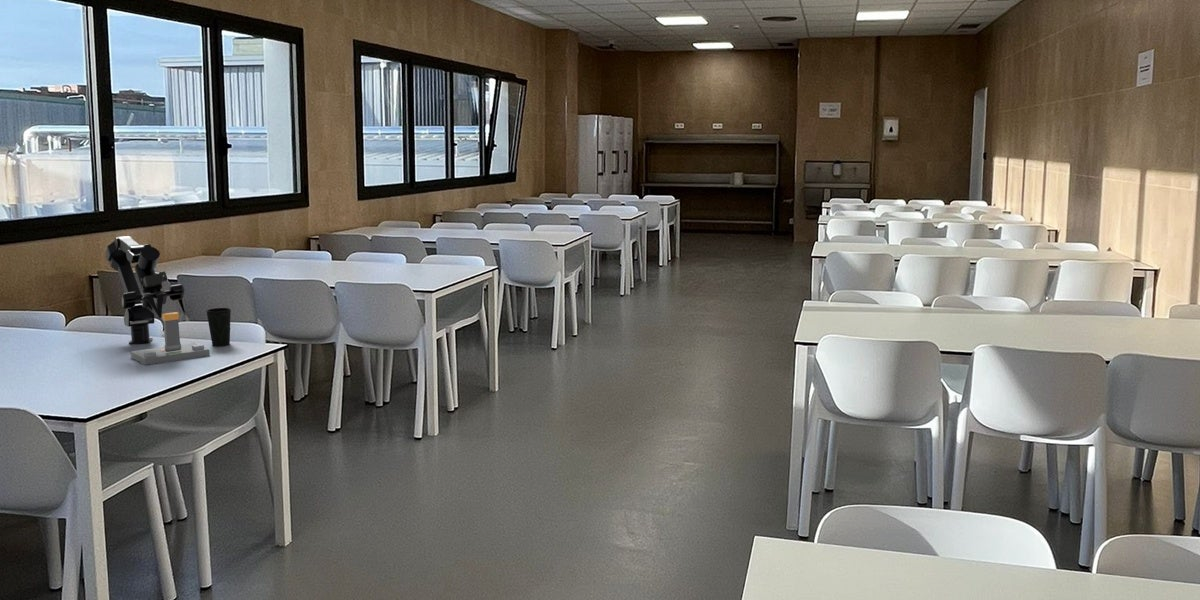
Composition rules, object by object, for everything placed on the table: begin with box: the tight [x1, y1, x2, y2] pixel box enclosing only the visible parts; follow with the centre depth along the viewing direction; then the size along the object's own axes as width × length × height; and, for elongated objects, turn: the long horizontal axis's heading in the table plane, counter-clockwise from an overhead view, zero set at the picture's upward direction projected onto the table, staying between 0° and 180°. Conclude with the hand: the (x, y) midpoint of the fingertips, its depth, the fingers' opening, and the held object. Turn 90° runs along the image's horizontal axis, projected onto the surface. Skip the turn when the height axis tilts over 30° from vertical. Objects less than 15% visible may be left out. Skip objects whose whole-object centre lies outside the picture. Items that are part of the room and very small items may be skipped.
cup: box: [206, 307, 232, 348], centre depth 349 cm, size 8×8×12 cm
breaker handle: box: [161, 311, 182, 352], centre depth 330 cm, size 2×4×12 cm, turn 131°
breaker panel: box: [130, 342, 211, 366], centre depth 333 cm, size 14×20×3 cm
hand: (160, 317), depth 336 cm, fingers closed
